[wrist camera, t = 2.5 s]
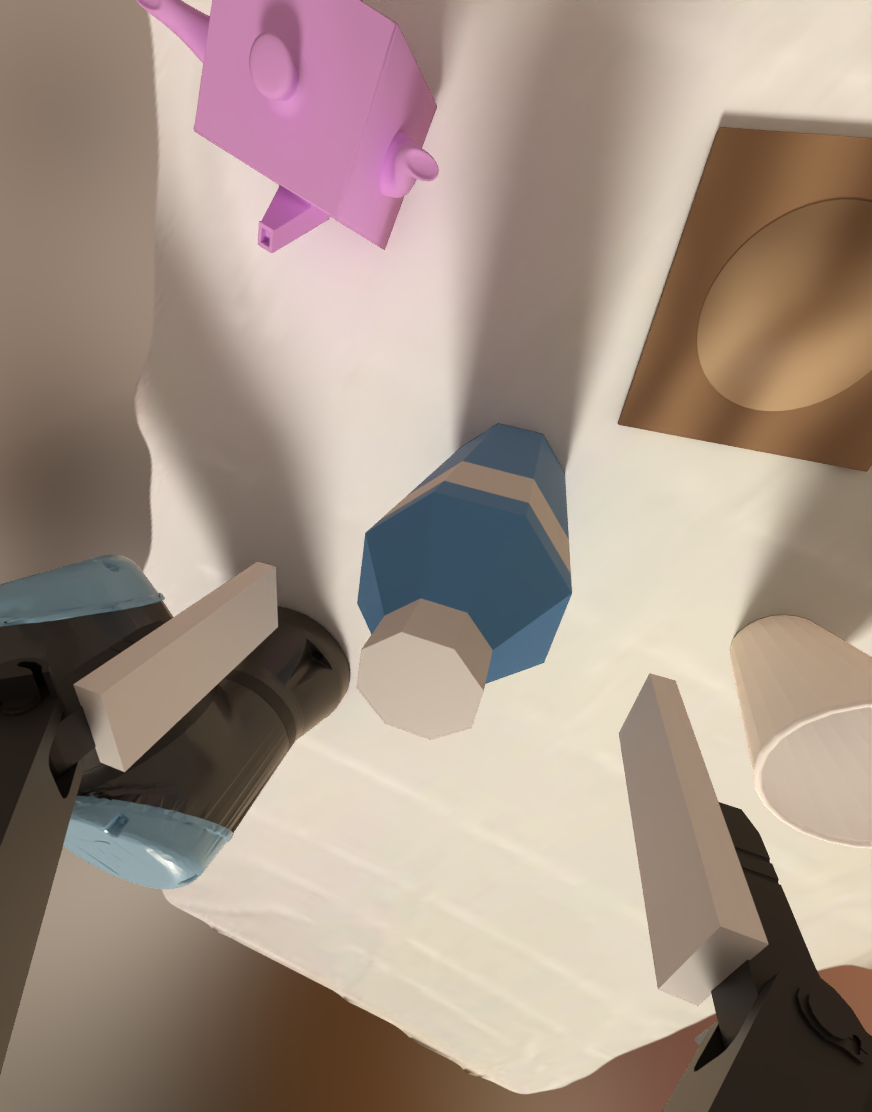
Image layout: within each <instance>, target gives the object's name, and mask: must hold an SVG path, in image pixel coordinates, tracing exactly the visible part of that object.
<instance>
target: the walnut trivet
mask: <svg viewBox="0 0 872 1112" xmlns="http://www.w3.org/2000/svg"><path fill="white" fill-rule="evenodd" d="M618 424H619V425H623V426H628V427H634V428H639V429H644V430H649V431H655V432H660V433H665V434H671V435H676V436H681V437H686V438H692V439H697V440H702V441H707V442H713V443H718V444H723V445H729V446H734V447H739V448H744V449H750V450H755V451H760V452H766V453H771V454H776V455H781V456H787V457H792V458H797V459H803V460H808V461H813V462H818V463H824V464H829V465H834V466H839V467H845V468H850V469H855V470H861V471H866V472H867V471H868V470H869V468H870V466H871V465H872V138H863V137H849V136H835V135H822V134H808V133H794V132H781V131H767V130H753V129H739V128H726V127H720V128H719V130H718V131H717V133H716V136H715V139H714V142H713V145H712V148H711V151H710V154H709V156H708V159H707V162H706V165H705V168H704V171H703V174H702V177H701V180H700V183H699V186H698V189H697V192H696V195H695V198H694V201H693V204H692V207H691V209H690V212H689V215H688V218H687V221H686V224H685V227H684V230H683V233H682V236H681V239H680V242H679V245H678V248H677V251H676V254H675V257H674V260H673V262H672V265H671V268H670V271H669V274H668V277H667V280H666V283H665V286H664V289H663V292H662V295H661V298H660V301H659V304H658V307H657V310H656V313H655V315H654V318H653V321H652V324H651V327H650V330H649V333H648V336H647V339H646V342H645V345H644V348H643V351H642V354H641V357H640V360H639V363H638V366H637V368H636V371H635V374H634V377H633V380H632V383H631V386H630V389H629V392H628V395H627V398H626V401H625V404H624V407H623V410H622V413H621V416H620V418H619V421H618Z"/></svg>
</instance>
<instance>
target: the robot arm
mask: <svg viewBox="0 0 872 1112" xmlns="http://www.w3.org/2000/svg"><path fill="white" fill-rule="evenodd" d="M164 599H165V598H164V596H163V594H161V593H158V592H157V591H156V589H155V588H154V587H153V585H152V584H151V583H150V581H149V580H148V579H147V577H146V576H145V575H144V573H143V572H142V571H141V569H140V568H139V567H138V565H137V564H136V563H135V562H133V561H132V560H131V559H129V558H127V557H124V556H121V555H114V554H108V555H102V556H98V557H94V558H90V559H87V560H83V561H79V562H76V563H73V564H69V565H66V566H62V567H59V568H55V569H52V570H49V571H45V572H41V573H38V574H35V575H31V576H27V577H24V578H21V579H17V580H14V581H11V582H7V583H4V584H1V585H0V1074H1V1070H2V1066H3V1062H4V1059H5V1055H6V1052H7V1048H8V1044H9V1041H10V1037H11V1033H12V1030H13V1026H14V1023H15V1019H16V1015H17V1011H18V1008H19V1004H20V1000H21V997H22V993H23V990H24V986H25V982H26V978H27V975H28V971H29V968H30V964H31V960H32V957H33V953H34V950H35V946H36V942H37V938H38V935H39V931H40V927H41V924H42V920H43V917H44V913H45V909H46V905H47V902H48V898H49V895H50V891H51V887H52V883H53V880H54V876H55V873H56V869H57V865H58V861H59V858H60V855H61V851H62V847H63V846H64V847H66V848H67V849H68V850H69V851H71V852H72V853H74V854H75V855H77V856H78V857H80V858H82V859H83V860H85V861H87V862H88V863H90V864H92V865H94V866H96V867H97V868H99V869H101V870H103V871H105V872H107V873H110V874H112V875H114V876H117V877H119V878H121V879H124V880H127V881H129V882H132V883H135V884H139V885H142V886H147V887H151V888H157V889H175V888H180V887H183V886H186V885H188V884H190V883H191V882H193V881H194V880H196V879H197V878H198V877H199V876H200V875H201V874H202V873H203V872H204V871H205V869H206V868H207V866H208V865H209V864H210V863H211V861H212V860H213V859H214V857H215V856H216V855H217V854H218V852H219V851H220V850H221V848H222V847H223V846H224V845H225V843H226V842H228V841H230V839H231V838H232V836H233V833H234V831H235V830H236V828H237V827H238V825H239V824H240V822H241V821H242V819H243V818H244V816H245V815H246V813H247V812H248V810H249V809H250V807H251V806H252V804H253V803H254V801H255V800H256V798H257V797H258V795H259V794H260V792H261V791H262V789H263V788H264V786H265V785H266V783H267V782H268V780H269V779H270V777H271V776H272V775H273V773H274V772H275V770H276V769H277V767H278V766H279V764H280V763H281V761H282V760H283V758H284V757H285V755H286V754H287V752H288V751H289V749H290V748H291V747H292V745H293V744H294V742H295V741H296V740H297V739H298V738H300V737H301V736H302V735H304V734H305V733H306V732H308V731H309V730H310V729H312V728H313V727H314V726H315V725H317V724H318V723H319V722H321V721H322V720H323V719H324V718H326V717H327V716H329V715H330V714H331V713H332V712H333V711H334V710H335V709H336V708H337V706H338V705H339V703H340V702H341V700H342V698H343V697H344V695H345V694H346V692H347V689H348V686H349V681H350V673H349V667H348V663H347V660H346V657H345V655H344V653H343V651H342V649H341V648H340V646H339V645H338V643H337V642H336V640H335V639H334V638H333V637H332V636H331V635H330V634H329V633H328V632H327V631H326V630H325V629H324V628H323V627H322V626H321V625H319V624H318V623H317V622H315V621H314V620H312V619H311V618H309V617H307V616H305V615H303V614H301V613H299V612H296V611H293V610H290V609H286V608H281V607H277V583H276V567H275V566H272V565H268V564H265V563H261V562H258V561H257V562H256V563H254V564H253V565H251V566H250V567H248V568H247V569H245V570H244V571H242V572H241V573H239V574H238V575H236V576H235V577H233V578H232V579H230V580H229V581H227V582H226V583H224V584H223V585H222V586H220V587H219V588H217V589H216V590H214V591H213V592H211V593H210V594H208V595H207V596H205V597H204V598H202V599H201V600H199V601H198V602H196V603H195V604H193V605H192V606H190V607H189V608H187V609H186V610H184V611H183V612H181V613H180V614H178V615H177V616H175V617H173V616H172V614H171V613H170V611H169V610H168V608H167V607H166V605H165V604H164V602H163V601H162V600H164ZM619 738H620V744H621V751H622V757H623V764H624V771H625V777H626V784H627V790H628V797H629V803H630V810H631V816H632V823H633V829H634V836H635V842H636V849H637V856H638V862H639V869H640V875H641V882H642V888H643V895H644V901H645V908H646V914H647V921H648V927H649V934H650V941H651V947H652V954H653V960H654V967H655V973H656V980H657V986H658V990H661V991H663V992H665V993H668V994H670V995H673V996H675V997H678V998H680V999H683V1000H685V1001H688V1002H690V1003H692V1004H695V1005H697V1006H698V1005H699V1004H700V1003H702V1002H703V1001H704V1000H705V999H706V998H707V997H708V996H710V995H711V994H712V998H713V1002H714V1006H715V1011H716V1015H717V1019H718V1020H717V1021H716V1022H715V1023H714V1024H712V1025H711V1026H710V1027H709V1028H707V1029H706V1030H705V1031H703V1032H702V1033H701V1034H700V1035H699V1036H697V1037H696V1038H695V1039H694V1040H695V1041H696V1042H697V1043H698V1045H699V1048H698V1050H697V1051H696V1053H695V1055H694V1057H693V1058H692V1060H691V1062H690V1064H689V1065H688V1067H687V1069H686V1071H685V1073H684V1074H683V1076H682V1078H681V1080H680V1081H679V1083H678V1085H677V1086H676V1088H675V1090H674V1091H673V1093H672V1095H671V1097H670V1098H669V1100H668V1102H667V1104H666V1106H665V1107H664V1109H663V1111H662V1112H872V1036H871V1035H869V1034H868V1033H867V1032H866V1031H865V1029H864V1028H863V1026H862V1025H861V1023H860V1021H859V1020H858V1018H857V1017H856V1015H855V1014H854V1012H853V1010H852V1009H851V1007H850V1006H849V1005H848V1004H847V1003H846V1002H845V1001H844V999H843V998H842V997H841V996H840V995H839V994H838V993H837V992H836V990H835V989H834V988H832V987H831V986H830V985H828V984H827V983H826V982H825V981H824V980H823V979H821V978H820V976H819V974H818V972H817V970H816V968H815V966H814V963H813V961H812V958H811V956H810V954H809V951H808V949H807V946H806V944H805V942H804V939H803V937H802V934H801V932H800V930H799V927H798V925H797V922H796V920H795V918H794V915H793V913H792V910H791V908H790V906H789V903H788V901H787V898H786V896H785V894H784V891H783V889H782V886H781V885H779V884H778V880H779V879H778V877H777V874H776V872H775V870H774V867H773V865H772V864H771V863H770V861H769V860H770V858H769V855H768V853H767V850H766V848H765V846H764V843H763V841H762V838H761V836H760V834H759V832H758V831H757V830H756V828H755V827H754V826H753V824H752V823H751V822H750V820H749V819H748V818H747V816H746V815H745V814H744V812H743V811H742V810H741V809H738V808H735V807H732V806H729V805H726V804H723V803H720V802H718V800H717V797H716V794H715V791H714V788H713V785H712V783H711V780H710V777H709V774H708V771H707V768H706V766H705V763H704V760H703V757H702V754H701V751H700V749H699V746H698V743H697V740H696V737H695V735H694V732H693V729H692V726H691V723H690V720H689V718H688V715H687V712H686V709H685V706H684V703H683V701H682V698H681V695H680V692H679V689H678V686H677V684H676V681H675V680H671V679H668V678H664V677H661V676H657V675H654V674H649V676H648V677H647V679H646V681H645V683H644V685H643V687H642V689H641V691H640V693H639V695H638V697H637V699H636V701H635V703H634V705H633V707H632V709H631V711H630V713H629V714H628V716H627V718H626V720H625V722H624V724H623V726H622V728H621V730H620V732H619Z"/></svg>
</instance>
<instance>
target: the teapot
mask: <svg viewBox="0 0 872 1112" xmlns="http://www.w3.org/2000/svg"><path fill="white" fill-rule="evenodd" d="M136 1H137V2H138V3H139V4H140V5H141V6H142V7H143V8H144V9H145V10H146V11H147V12H149V13H150V14H151V15H153V16H154V17H155V18H157V19H158V20H159V21H161V22H162V23H163V24H164V25H166V26H167V27H168V28H169V29H170V30H171V31H173V32H174V33H175V34H176V35H177V36H178V37H179V38H180V39H181V40H182V41H183V42H184V43H185V44H186V45H187V46H188V47H189V48H190V49H191V50H192V51H193V53H194V54H195V55H196V56H197V57H198V58H199V59H200V61H201V62H202V63H203V70H202V77H201V85H200V92H199V99H198V107H197V113H196V120H195V125H194V131H195V132H196V133H198V134H199V135H201V136H203V137H204V138H206V139H207V140H209V141H211V142H212V143H214V144H215V145H217V146H219V147H220V148H222V149H223V150H225V151H226V152H228V153H230V154H231V155H233V156H234V157H236V158H238V159H239V160H241V161H242V162H244V163H245V164H247V165H249V166H250V167H252V168H253V169H255V170H257V171H258V172H260V173H261V174H263V175H265V176H266V177H268V178H269V179H271V180H272V181H274V182H276V183H277V184H279V188H278V190H277V192H276V194H275V196H274V198H273V200H272V202H271V204H270V206H269V208H268V210H267V212H266V214H265V215H264V217H263V219H262V221H259V232H258V245H259V246H261V247H262V248H264V249H266V250H267V251H269V252H270V253H274V252H275V251H277V250H279V249H280V248H282V247H284V246H285V245H287V244H289V243H290V242H292V241H293V240H295V239H297V238H298V237H300V236H302V235H303V234H305V233H307V232H308V231H310V230H312V229H313V228H315V227H317V226H318V225H320V224H322V223H323V222H325V221H327V220H328V219H329V217H332V218H334V219H335V220H337V221H338V222H340V223H342V224H343V225H345V226H346V227H348V228H350V229H351V230H353V231H355V232H356V233H358V234H359V235H361V236H363V237H364V238H366V239H367V240H369V241H371V242H372V243H374V244H376V245H377V246H379V247H380V248H382V249H384V250H385V248H386V245H387V242H388V239H389V237H390V234H391V231H392V228H393V226H394V223H395V220H396V217H397V215H398V212H399V209H400V206H401V204H402V201H403V198H404V196H405V195H406V194H407V193H408V192H409V191H410V190H411V188H412V187H413V185H414V184H415V181H416V179H419V180H422V181H431V180H434V179H435V178H436V177H437V175H438V171H439V170H438V165H437V163H436V161H435V160H434V158H433V157H432V156H431V155H430V154H429V153H428V152H426V151H425V150H423V149H422V146H423V144H424V141H425V138H426V135H427V133H428V130H429V127H430V124H431V122H432V119H433V116H434V114H435V111H436V108H437V105H436V103H435V101H434V99H433V97H432V94H431V92H430V90H429V88H428V86H427V84H426V82H425V80H424V78H423V75H422V73H421V71H420V69H419V67H418V65H417V63H416V61H415V59H414V56H413V54H412V52H411V50H410V48H409V46H408V44H407V42H406V40H405V37H404V35H403V33H402V31H401V29H400V27H399V25H398V24H397V23H395V22H394V21H392V20H391V19H389V18H387V17H386V16H384V15H383V14H381V13H379V12H378V11H376V10H374V9H373V8H371V7H370V6H368V5H366V4H365V3H363V1H362V0H212V7H211V13H210V16H208V15H206V14H204V13H202V12H200V11H198V10H197V9H195V8H193V7H191V6H189V5H188V4H186V3H184V2H183V1H181V0H136Z"/></svg>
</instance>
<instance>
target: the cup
mask: <svg viewBox="0 0 872 1112" xmlns="http://www.w3.org/2000/svg"><path fill="white" fill-rule="evenodd" d="M730 659H731V664H732V669H733V674H734V679H735V684H736V689H737V694H738V699H739V704H740V709H741V714H742V719H743V724H744V729H745V734H746V739H747V744H748V749H749V754H750V759H751V764H752V769H753V780H754V787H755V789H756V791H757V793H758V795H759V797H760V799H761V801H762V803H763V804H764V805H765V806H766V807H767V808H768V809H769V810H770V811H771V812H772V813H773V814H774V815H775V816H776V817H777V818H778V819H779V820H781V821H782V822H784V823H786V824H788V825H789V826H791V827H793V828H794V829H796V830H798V831H799V832H801V833H804V834H807V835H810V836H812V837H815V838H818V839H821V840H823V841H826V842H831V843H836V844H841V845H846V846H851V847H856V848H872V657H871V656H869V655H868V654H866V653H864V652H862V651H861V650H859V649H857V648H856V647H854V646H852V645H850V644H849V643H847V642H845V641H844V640H842V639H840V638H839V637H837V636H835V635H833V634H832V633H830V632H828V631H827V630H825V629H823V628H821V627H820V626H818V625H816V624H815V623H813V622H811V621H809V620H807V619H804V618H801V617H797V616H789V615H779V616H769V617H766V618H763V619H759V620H756V621H754V622H753V623H751V624H749V625H747V626H745V627H744V628H743V629H742V630H741V631H739V632H738V633H737V635H736V636H735V638H734V639H733V641H732V643H731V647H730Z"/></svg>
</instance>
